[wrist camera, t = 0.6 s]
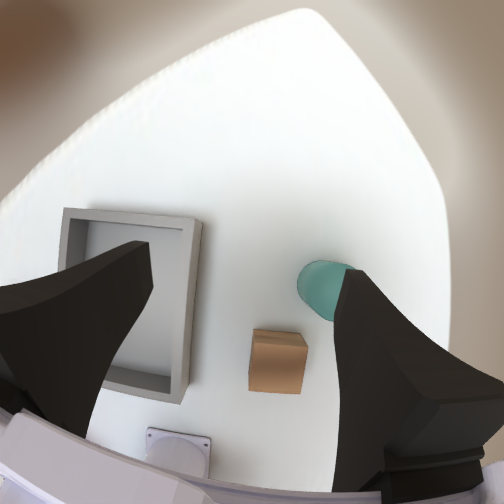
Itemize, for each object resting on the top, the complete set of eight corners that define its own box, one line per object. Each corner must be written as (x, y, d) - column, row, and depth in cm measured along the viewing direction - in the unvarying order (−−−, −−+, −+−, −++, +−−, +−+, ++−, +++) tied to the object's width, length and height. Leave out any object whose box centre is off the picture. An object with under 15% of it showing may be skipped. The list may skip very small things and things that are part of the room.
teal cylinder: (339, 309, 33) (361, 323, 26) (294, 305, 33) (306, 319, 26) (345, 263, 33) (369, 266, 26) (300, 258, 33) (314, 260, 26)
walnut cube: (293, 375, 33) (300, 394, 28) (248, 371, 33) (248, 390, 28) (299, 333, 33) (308, 346, 28) (253, 329, 33) (254, 342, 28)
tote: (188, 384, 33) (180, 404, 28) (79, 361, 33) (59, 375, 28) (202, 223, 33) (194, 218, 28) (86, 212, 32) (63, 207, 27)
